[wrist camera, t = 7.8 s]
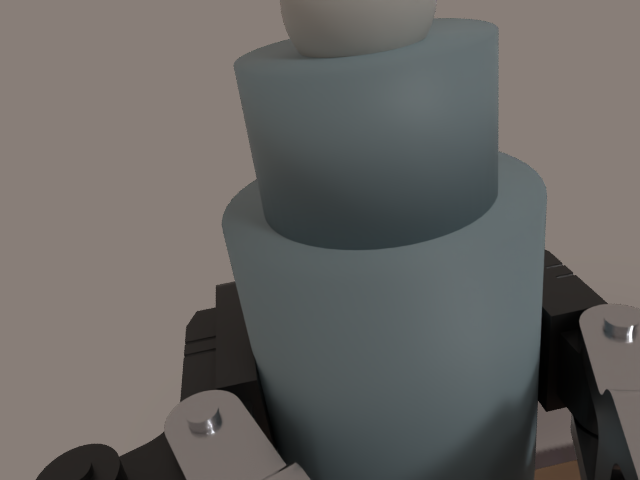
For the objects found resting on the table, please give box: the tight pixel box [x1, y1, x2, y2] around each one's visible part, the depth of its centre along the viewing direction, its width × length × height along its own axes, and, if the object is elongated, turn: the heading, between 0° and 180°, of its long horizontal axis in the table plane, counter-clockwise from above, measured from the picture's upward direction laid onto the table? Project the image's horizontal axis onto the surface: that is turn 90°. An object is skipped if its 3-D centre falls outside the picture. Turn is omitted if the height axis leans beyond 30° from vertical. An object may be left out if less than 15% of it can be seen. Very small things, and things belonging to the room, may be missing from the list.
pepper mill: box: [222, 0, 547, 480], centre depth 11 cm, size 5×5×15 cm
